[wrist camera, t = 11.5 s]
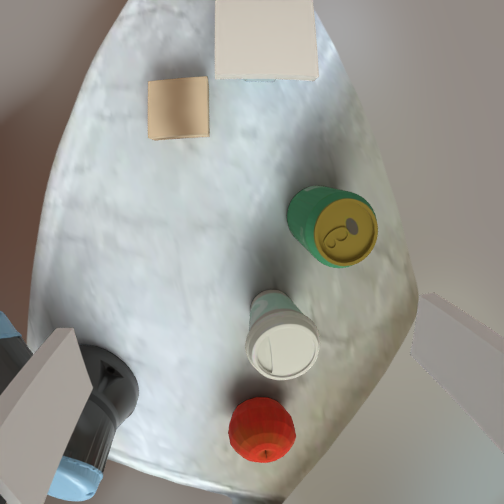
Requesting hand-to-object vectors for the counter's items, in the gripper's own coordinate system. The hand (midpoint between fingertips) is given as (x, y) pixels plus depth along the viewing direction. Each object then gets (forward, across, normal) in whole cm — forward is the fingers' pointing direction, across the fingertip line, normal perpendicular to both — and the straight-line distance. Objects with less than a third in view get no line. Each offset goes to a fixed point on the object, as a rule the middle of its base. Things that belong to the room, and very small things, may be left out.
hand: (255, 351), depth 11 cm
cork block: (+32, -5, +14) cm, 35 cm away
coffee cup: (+32, +5, -13) cm, 35 cm away
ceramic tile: (+26, +5, +22) cm, 34 cm away
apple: (+32, +3, -32) cm, 45 cm away
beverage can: (+32, +12, 0) cm, 34 cm away
